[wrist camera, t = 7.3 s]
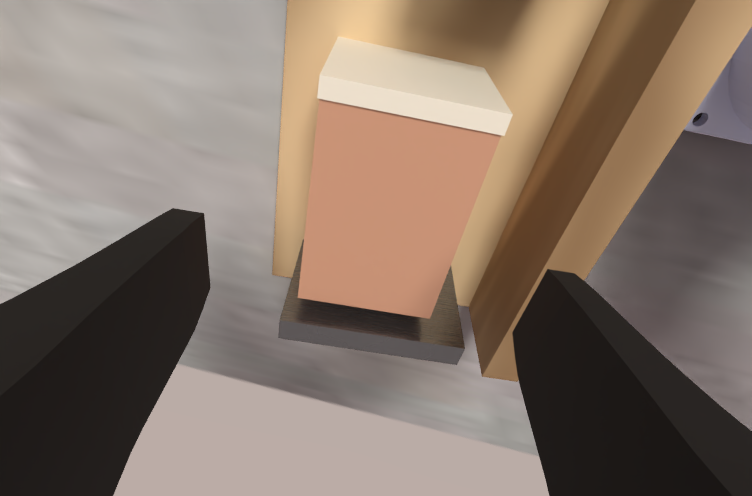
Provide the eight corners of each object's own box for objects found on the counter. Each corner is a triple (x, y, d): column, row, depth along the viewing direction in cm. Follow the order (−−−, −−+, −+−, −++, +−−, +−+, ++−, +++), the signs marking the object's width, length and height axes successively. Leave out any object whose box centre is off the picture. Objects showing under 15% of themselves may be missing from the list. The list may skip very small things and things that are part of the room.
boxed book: (484, 67, 15) (512, 114, 11) (424, 248, 20) (431, 321, 16) (338, 36, 14) (319, 74, 11) (314, 229, 19) (295, 299, 16)
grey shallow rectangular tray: (450, 264, 20) (464, 348, 16) (436, 301, 22) (445, 386, 18) (303, 239, 20) (279, 320, 16) (298, 279, 21) (276, 362, 17)
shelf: (785, -269, 11) (1021, -383, 7) (495, 300, 23) (517, 381, 19) (317, -412, 10) (262, -650, 6) (275, 264, 22) (249, 341, 18)
